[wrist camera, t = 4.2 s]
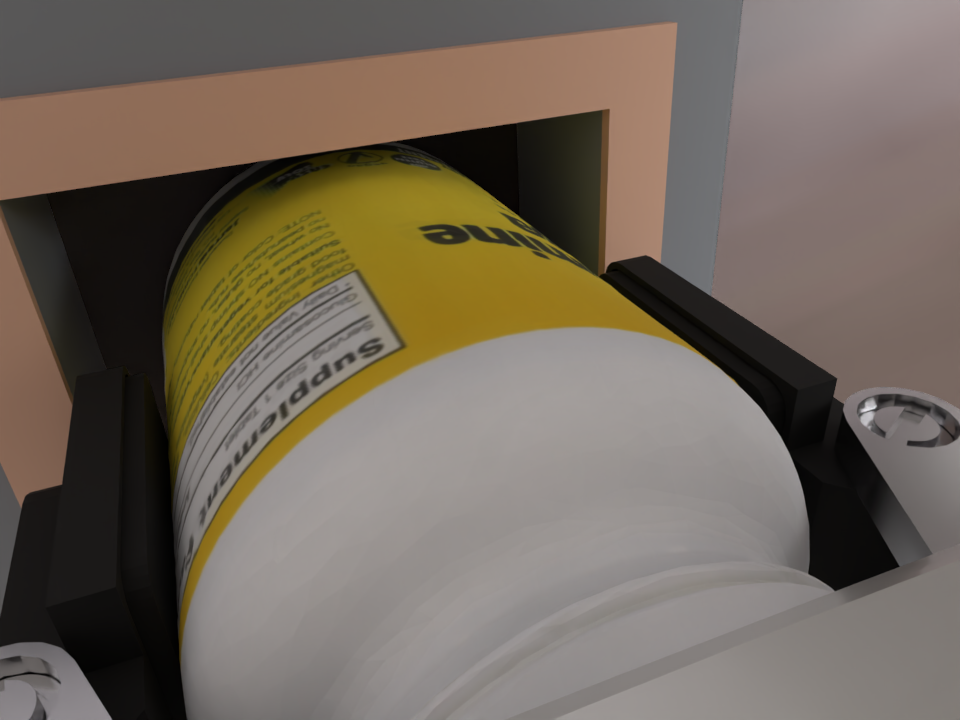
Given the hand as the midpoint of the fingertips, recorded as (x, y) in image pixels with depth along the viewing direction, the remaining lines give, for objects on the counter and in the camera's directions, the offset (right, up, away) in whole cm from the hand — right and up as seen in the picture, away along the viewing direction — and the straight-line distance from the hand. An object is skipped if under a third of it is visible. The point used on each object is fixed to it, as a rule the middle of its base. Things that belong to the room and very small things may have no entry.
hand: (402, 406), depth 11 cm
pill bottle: (-1, +2, +3) cm, 4 cm away
